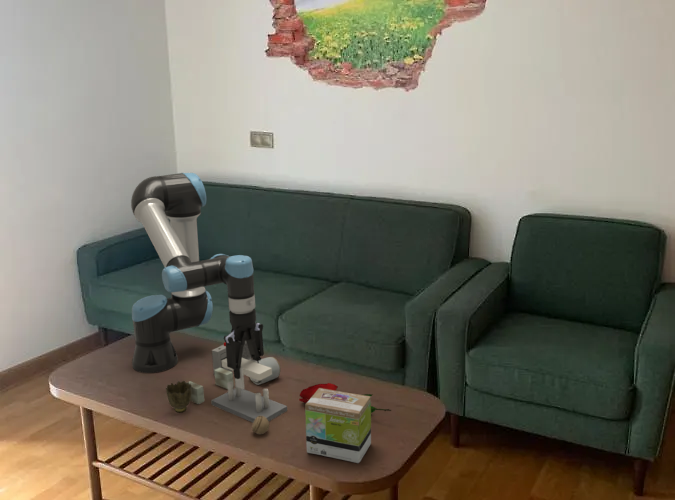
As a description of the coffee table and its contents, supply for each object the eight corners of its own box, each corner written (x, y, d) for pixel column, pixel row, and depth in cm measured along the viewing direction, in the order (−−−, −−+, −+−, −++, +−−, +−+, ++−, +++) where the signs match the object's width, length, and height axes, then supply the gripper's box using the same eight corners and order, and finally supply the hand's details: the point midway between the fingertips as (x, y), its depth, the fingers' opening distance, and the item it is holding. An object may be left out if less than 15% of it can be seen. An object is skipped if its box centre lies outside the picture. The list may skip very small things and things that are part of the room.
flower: (393, 384, 195) (301, 373, 209) (382, 411, 189) (288, 399, 203) (401, 403, 200) (310, 392, 214) (391, 431, 194) (298, 417, 208)
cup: (171, 419, 202) (169, 394, 200) (165, 408, 208) (162, 384, 206) (196, 413, 205) (194, 388, 203) (189, 402, 211) (187, 378, 209)
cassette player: (219, 377, 228) (217, 349, 226) (213, 375, 230) (211, 347, 227) (251, 360, 240) (250, 333, 238) (246, 358, 242) (244, 331, 239)
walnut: (260, 426, 197) (259, 410, 195) (273, 432, 194) (272, 415, 192) (247, 433, 193) (246, 417, 192) (260, 439, 190) (259, 423, 189)
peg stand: (211, 404, 210) (209, 383, 208) (238, 391, 218) (237, 370, 216) (260, 426, 197) (259, 403, 195) (287, 410, 205) (286, 389, 203)
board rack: (185, 398, 214) (184, 383, 213) (221, 381, 225) (220, 367, 223) (198, 404, 210) (196, 389, 209) (233, 386, 221) (232, 372, 220)
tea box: (305, 454, 182) (303, 403, 178) (320, 435, 191) (318, 386, 187) (360, 464, 177) (358, 412, 173) (372, 444, 186) (371, 394, 182)
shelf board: (272, 374, 201) (271, 368, 200) (259, 380, 197) (259, 374, 197) (234, 361, 211) (233, 354, 210) (221, 366, 207) (221, 360, 207)
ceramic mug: (283, 379, 225) (281, 357, 223) (262, 388, 220) (261, 365, 218) (262, 370, 232) (261, 349, 231) (242, 378, 227) (241, 356, 225)
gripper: (227, 321, 190) (233, 399, 196) (273, 303, 203) (278, 376, 210) (209, 316, 195) (215, 391, 201) (255, 298, 208) (260, 370, 214)
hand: (247, 383), depth 205 cm, fingers closed on shelf board, 5 cm apart
